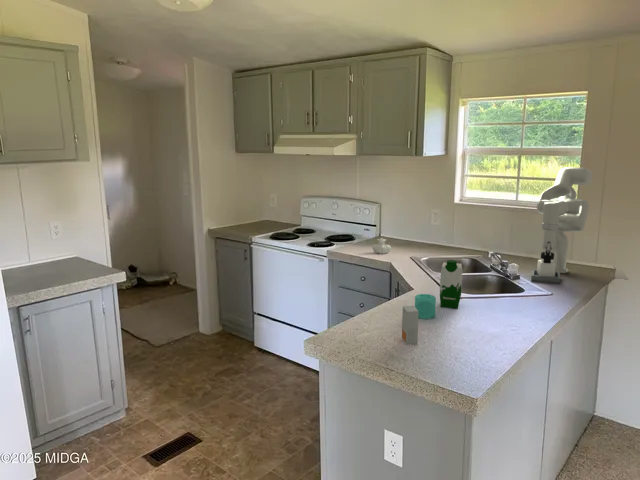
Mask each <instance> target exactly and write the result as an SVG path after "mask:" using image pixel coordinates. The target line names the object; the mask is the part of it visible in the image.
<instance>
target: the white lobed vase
mask: <svg viewBox="0 0 640 480" xmlns="http://www.w3.org/2000/svg"><path fill="white" fill-rule="evenodd" d="M376 240H377V242H378V243H377V244H373V245H372V250H373V252H374V253H377V254H379V255H383V254H389V253H390V252H391V249H392V246H391V245H390V244H386V242H387V238H384V237H380V238H377V239H376Z"/></svg>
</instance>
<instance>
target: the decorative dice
mask: <svg viewBox="0 0 640 480" xmlns="http://www.w3.org/2000/svg"><path fill="white" fill-rule="evenodd" d="M436 303H437V301H436V296H434V295H432V294H429V293H420V294H416V295H415V296H414V307H415V308H416V309H417V310H418V319H423V320H431V319H434V318H436V308H437V305H436Z"/></svg>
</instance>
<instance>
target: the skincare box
mask: <svg viewBox="0 0 640 480" xmlns="http://www.w3.org/2000/svg"><path fill="white" fill-rule="evenodd" d="M401 318H402V320H401V324H402V325H401V339H402V340H403V342H404V344H405V345H417V344H418V336H419V334H418V333H419V318H418V310H417V309H416V308H415V305H403V306H402V317H401Z"/></svg>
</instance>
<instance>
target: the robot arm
mask: <svg viewBox="0 0 640 480" xmlns="http://www.w3.org/2000/svg"><path fill="white" fill-rule="evenodd" d="M593 177H594V175H593V171H592V170H591V169H590V168H587V167H577V166H576V167H572V166H571V167H569V166H568V167H563V168H561V169H559V171H558V173H557V176H556V178H555V181H554V184H553V186H551V187H549V188H547V189H544V191H543V192H541V194H540V196H539V198H538V201H537V204H536V211H537V213H538V214H541V215H542V219H541V221H542V222H541V230H543V233H542V244H541V249H542V250H544V251H545V255H544V263H551V252H552V253H554V262H555V263H556V271H555V272H560V274H566V273H569V269H568V268H567V267H566V265H567V255H568V247H569V246H568V245H569V239H568V236H567V235H566V233H565V232H568V233H569V232H570V233H582V232H583V231H584V229H585V227H586V222H587V220H588V214H589V210H590V205H589V200H586V199H583V198H577V195H578V194H577V192H576V190H575V189H574V187H573V186H575V185H577V186H589V185H591V183H592V182H593V179H594V178H593ZM556 199H557V200H556Z"/></svg>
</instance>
